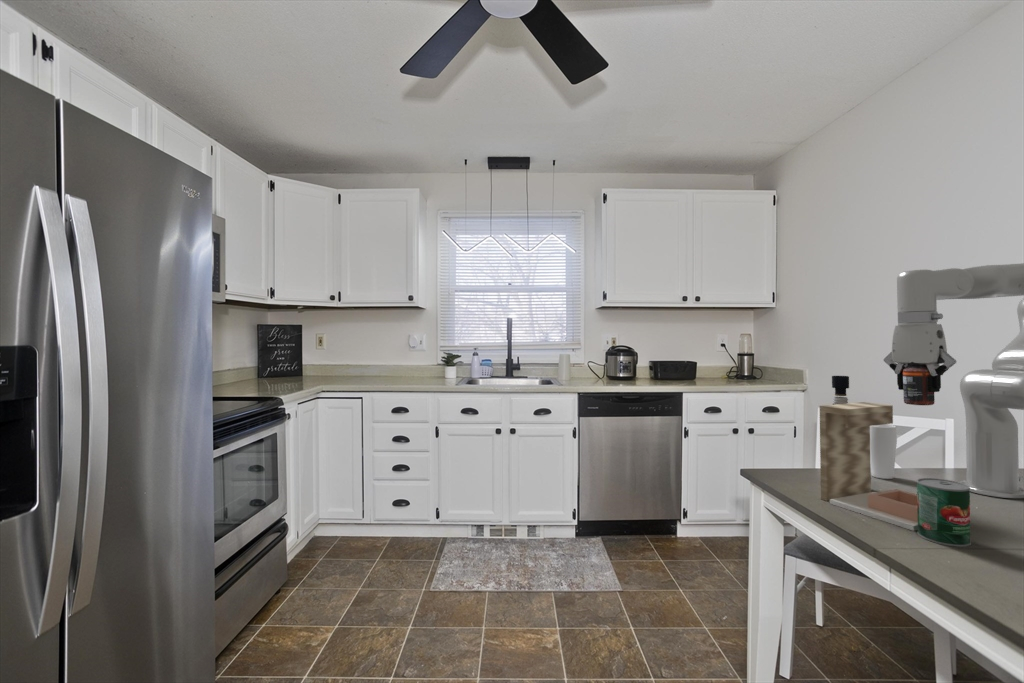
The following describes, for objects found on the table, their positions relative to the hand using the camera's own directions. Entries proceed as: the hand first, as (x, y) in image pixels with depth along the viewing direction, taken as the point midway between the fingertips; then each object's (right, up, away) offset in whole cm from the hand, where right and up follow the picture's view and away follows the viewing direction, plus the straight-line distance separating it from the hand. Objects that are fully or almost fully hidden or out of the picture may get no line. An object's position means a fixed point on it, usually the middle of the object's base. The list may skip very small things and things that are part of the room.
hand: (918, 389), depth 119 cm
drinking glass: (+5, -27, +17) cm, 33 cm away
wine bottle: (-12, -27, +10) cm, 32 cm away
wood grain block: (-16, -27, -1) cm, 32 cm away
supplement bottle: (0, -4, 0) cm, 4 cm away
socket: (-14, -27, -10) cm, 32 cm away
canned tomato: (-16, -27, -25) cm, 40 cm away
